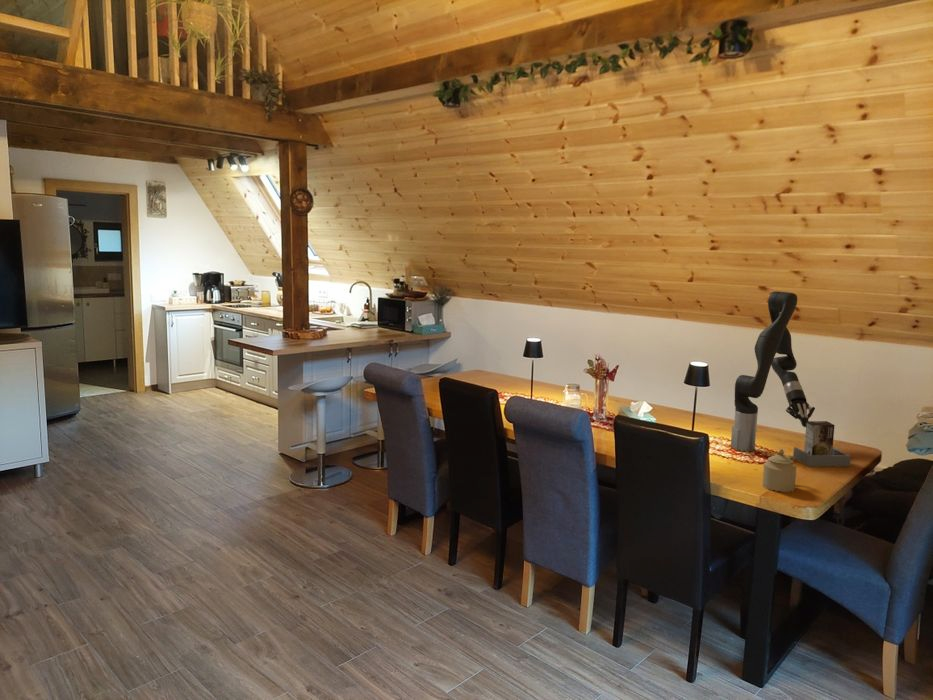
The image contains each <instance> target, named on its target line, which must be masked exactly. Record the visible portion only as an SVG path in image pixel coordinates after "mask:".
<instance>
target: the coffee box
mask: <svg viewBox="0 0 933 700" xmlns="http://www.w3.org/2000/svg"><path fill="white" fill-rule="evenodd" d="M835 426H836V425H835V424H833V423H831V422H829V421H826V420H825V421H823V420H821V421H820V420H817V421H816V420H811V421H810V420H808V421H807V423H806V427H805V435H804V436H805V438H804V448H803V451H804V452H806V453H808V454H810V455H832V450H833V446H834V437H835V436H834V434H835Z"/></svg>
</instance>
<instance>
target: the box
mask: <svg viewBox="0 0 933 700" xmlns="http://www.w3.org/2000/svg"><path fill="white" fill-rule="evenodd" d="M792 456H793V459H795V460H797V461H798V460H799V461H798V462H800V463H801V464H803V463H804V465H805V466H807V467H809V466H850V467H851V461H852V459H851V458H852V457H851V455H850V454H847V453H845V452H843V451H841V450H839V449H837V448H835V447H833V450H832V455H810V454H808V453H806V452H804V450H802V449H801V448H799V447H797V446H796V447H795V446H794V447H793V454H792Z"/></svg>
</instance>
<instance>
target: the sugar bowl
mask: <svg viewBox="0 0 933 700" xmlns="http://www.w3.org/2000/svg"><path fill="white" fill-rule="evenodd" d="M777 453H778V454H774V455H771V456H769V457H768V458H767V459H768V461H766V462H764V464H763V471H762V487H764V488H765V487H766V488H765V489H767V488H768V489H767V490H769V489H771V490H770V491H772V490H775V491H774V492H777V491H781V492H780V493H791V492H790V491H792V492H794V491H795V488H796V487H795V486H796V480H797V467H796V466H795V465H794V462H795V461H794V459H795V458H793V455H792V454H786V455H784V454H785V451H784V449H783V448H781V449H779V450H778V452H777ZM793 490H794V491H793Z"/></svg>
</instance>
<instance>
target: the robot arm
mask: <svg viewBox="0 0 933 700" xmlns="http://www.w3.org/2000/svg"><path fill="white" fill-rule="evenodd" d="M797 305H798V296H797V294H796V293H793V292H787V291H776V290H775V291H772V292H771V293H770V294H769V296H768V299H767V307H768V313H769V317H770V321H771V324H769V325H768V326H767V327H765V328H764V329H763V330H762V331H761V332H760V333H759V335H758V337H757V339H756V342H755V346H754V354H755V358H756V362H757V367H756V373H755V375H754V376H751V375H745V374H740V375H739V376H738V377H737V378H736V380H735V383H734V407H735V409H734V410H735V412H734V422H733V423H734V424H733V426H731V440H730V447H731V448H732V447H733V448H734V449H733V448H732V449H733V450H735V449H736V450H742V451H741V452H745V451H751V452H754V451H755V450H756V438H757V436H756V435H757V425H758V415H759V414H758V413H759V407H758V405H756V404H755V403H754V402H753V401H751V399H750V398H752V399H758V398H760V397H761V396H762V395H763V393H764V390H765V387H766V384H767V381H768V377H769V373H770V370H771V369H772V370H773V371H774V373H775V374H776V375H777V376H778V378H779V379H780V380H781V384H782V387H783V390H784V391H783V392H784V395H785V397H786V400H787V403H788V404H789V405H788V406H787V408H785V412H786V413H788V414H789V415H790V416H792V418H794V419H796V420H799V421H800V423H801V426H802V427H803V428H806V423H807V421H809V419H810V418H811V417H812V416H813V413H814V412H815V410H816V407H815V406H810V404H809V403H808V401H807V397H806V395H805V392H804V389H803V387H802V384H801V382H800V380H799V377H798V374H797V373H796V372H794V370H795V369H796V368H797V363H798V362H797V360H796V358H795V356H794V352H793V348H792V344H793V343H792V335H791V332H790V331H789V329H788V327H787V326H788V325H789V322H790V320H791V318H792V316H793V314H794V312H795V310H796V308H797ZM776 354H779V355H782V356H777V357H776ZM783 355H784V356H783ZM771 367H772V368H771ZM736 450H735V451H736Z"/></svg>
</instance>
